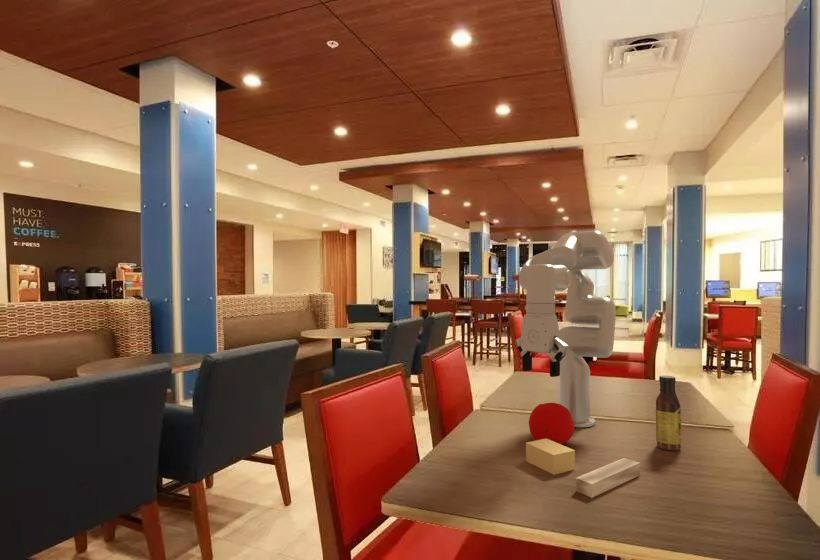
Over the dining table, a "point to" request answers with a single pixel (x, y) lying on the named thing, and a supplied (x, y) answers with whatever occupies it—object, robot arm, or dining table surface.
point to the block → (550, 456)
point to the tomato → (551, 423)
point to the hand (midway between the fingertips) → (540, 373)
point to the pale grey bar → (607, 477)
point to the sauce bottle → (668, 415)
